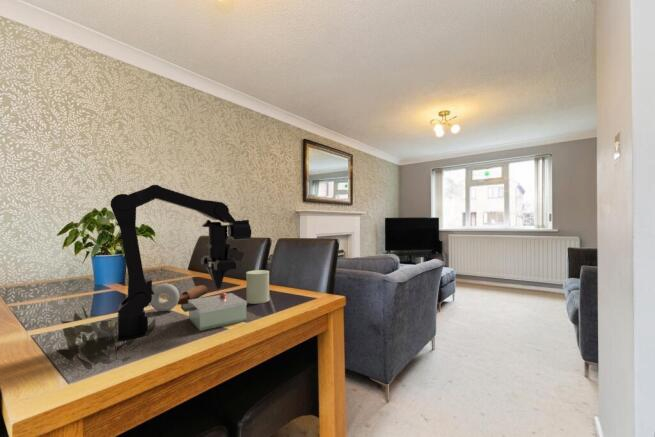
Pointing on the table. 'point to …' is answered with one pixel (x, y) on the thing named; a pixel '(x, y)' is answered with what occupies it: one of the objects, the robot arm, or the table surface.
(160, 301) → the donut
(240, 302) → the lid
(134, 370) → the table surface
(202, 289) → the sunglasses case
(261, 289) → the can
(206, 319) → the shallow mint tray
